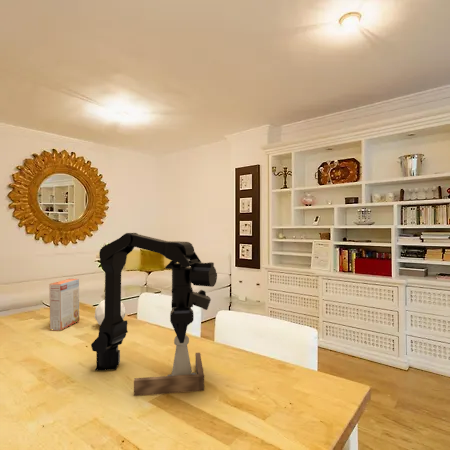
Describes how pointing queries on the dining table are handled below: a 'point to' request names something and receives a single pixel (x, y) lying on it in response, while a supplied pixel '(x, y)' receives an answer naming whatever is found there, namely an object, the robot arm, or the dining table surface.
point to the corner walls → (171, 382)
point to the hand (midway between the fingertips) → (181, 337)
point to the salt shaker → (181, 358)
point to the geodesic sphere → (101, 311)
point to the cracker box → (64, 303)
